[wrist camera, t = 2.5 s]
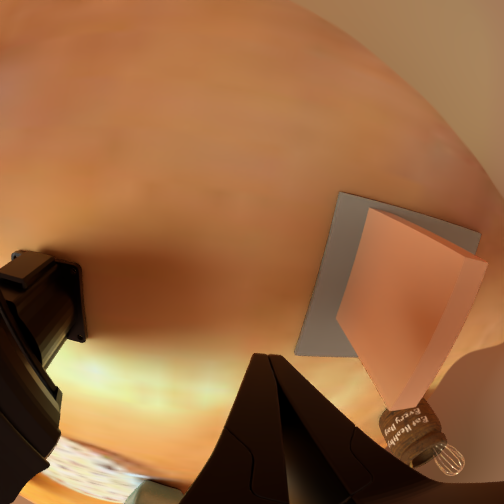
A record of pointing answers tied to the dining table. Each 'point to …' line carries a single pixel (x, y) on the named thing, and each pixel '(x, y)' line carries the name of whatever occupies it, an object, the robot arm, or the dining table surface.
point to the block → (406, 304)
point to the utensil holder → (413, 434)
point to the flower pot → (154, 494)
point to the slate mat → (340, 265)
